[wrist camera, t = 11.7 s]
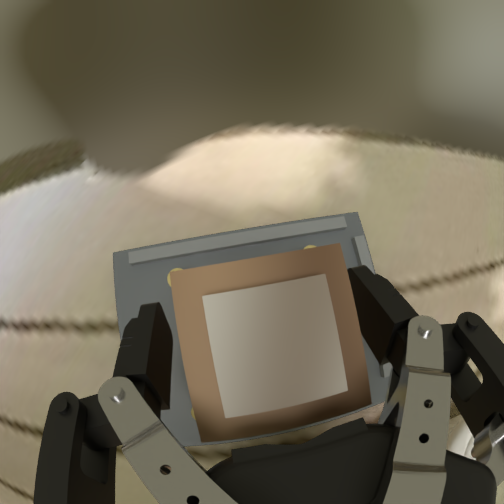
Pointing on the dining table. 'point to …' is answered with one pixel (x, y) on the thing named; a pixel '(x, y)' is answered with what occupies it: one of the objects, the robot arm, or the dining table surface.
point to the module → (270, 342)
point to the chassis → (221, 251)
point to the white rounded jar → (460, 437)
